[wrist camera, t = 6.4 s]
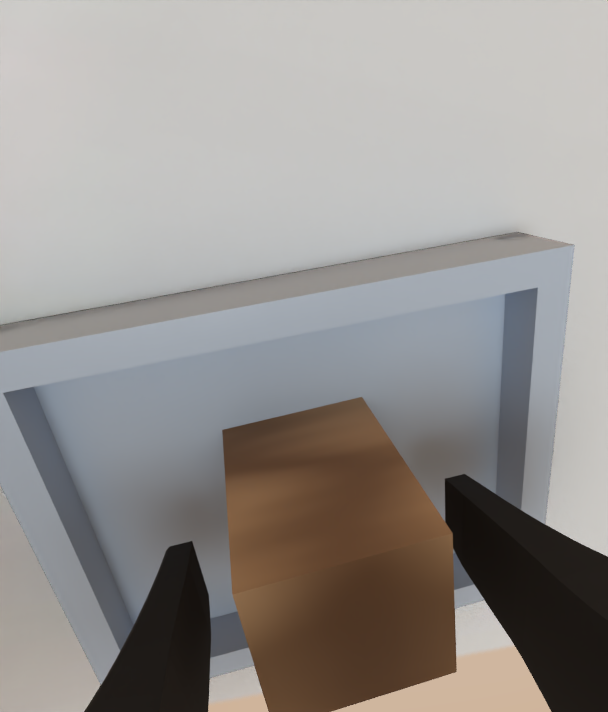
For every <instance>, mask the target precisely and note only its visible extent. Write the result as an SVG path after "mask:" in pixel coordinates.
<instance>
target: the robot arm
mask: <svg viewBox="0 0 608 712" xmlns="http://www.w3.org/2000/svg"><path fill="white" fill-rule="evenodd" d="M445 523H446V524H447V526H448V527H449V529H450V530H451V532H452V533H453V549H454V551H455V553H456V555H457V557H458V559H459V561H460V563H461V565H462V566H463V568H464V569H465V571H466V573H467V574H468V576H469V577H470V579H471V580H472V582H473V583H474V585H475V586H476V588H477V589H478V591H479V592H480V594H481V595H482V597H483V598H484V600H485V601H486V603H487V604H488V606H489V607H490V609H491V610H492V612H493V613H494V615H495V616H496V618H497V619H498V621H499V622H500V624H501V625H502V627H503V628H504V630H505V631H506V633H507V634H508V636H509V637H510V639H511V640H512V642H513V643H514V645H515V647H516V648H517V650H518V651H519V653H520V655H521V656H522V658H523V660H524V662H525V663H526V665H527V667H528V669H529V671H530V673H531V674H532V676H533V678H534V680H535V682H536V683H537V685H538V687H539V689H540V691H541V692H542V694H543V696H544V698H545V700H546V702H547V704H548V706H549V708H550V709H551V711H552V712H608V557H607V556H605V555H603V554H601V553H599V552H596V551H594V550H592V549H590V548H588V547H586V546H584V545H582V544H580V543H578V542H576V541H574V540H572V539H570V538H569V537H567V536H565V535H563V534H561V533H559V532H558V531H556V530H554V529H552V528H550V527H549V526H547V525H545V524H543V523H542V522H540V521H538V520H537V519H535V518H533V517H532V516H530V515H528V514H527V513H525V512H523V511H522V510H520V509H518V508H517V507H515V506H514V505H512V504H510V503H509V502H507V501H506V500H504V499H503V498H501V497H500V496H498V495H496V494H495V493H493V492H492V491H490V490H489V489H487V488H486V487H484V486H483V485H481V484H480V483H478V482H477V481H475V480H474V479H472V478H470V477H469V476H467V475H466V474H462V475H458V476H454V477H450V478H446V479H445ZM210 655H211V620H210V605H209V594H208V590H207V587H206V584H205V581H204V577H203V574H202V571H201V568H200V565H199V561H198V558H197V555H196V552H195V548H194V545H193V542H192V541H190V542H186V543H182V544H178V545H174V546H169V548H168V549H167V550H166V552H165V555H164V558H163V560H162V563H161V565H160V568H159V570H158V573H157V575H156V578H155V580H154V582H153V585H152V587H151V589H150V592H149V594H148V596H147V598H146V601H145V603H144V605H143V607H142V609H141V611H140V613H139V615H138V618H137V620H136V622H135V624H134V626H133V628H132V630H131V632H130V634H129V636H128V637H127V639H126V641H125V643H124V645H123V647H122V649H121V651H120V653H119V654H118V656H117V658H116V660H115V662H114V664H113V665H112V667H111V669H110V671H109V672H108V674H107V676H106V677H105V679H104V681H103V683H102V684H101V686H100V687H99V689H98V691H97V692H96V694H95V696H94V697H93V699H92V700H91V702H90V704H89V705H88V707H87V708H86V710H85V711H84V712H208V701H209V679H210Z"/></svg>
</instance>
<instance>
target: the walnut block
mask: <svg viewBox="0 0 608 712" xmlns="http://www.w3.org/2000/svg"><path fill="white" fill-rule="evenodd" d="M222 435H223V451H224V468H225V484H226V500H227V516H228V532H229V549H230V565H231V581H232V595H233V598H234V602H235V605H236V608H237V611H238V614H239V618H240V621H241V624H242V627H243V630H244V634H245V637H246V640H247V643H248V646H249V650H250V653H251V656H252V659H253V663H254V666H255V669H256V672H257V675H258V679H259V682H260V685H261V688H262V691H263V695H264V698H265V701H266V704H267V707H268V711H269V712H331V711H334V710H337V709H340V708H343V707H347V706H350V705H353V704H356V703H359V702H363V701H366V700H369V699H372V698H375V697H378V696H381V695H385V694H388V693H391V692H394V691H397V690H401V689H404V688H407V687H410V686H413V685H416V684H420V683H423V682H426V681H429V680H432V679H435V678H439V677H442V676H445V675H448V674H451V673H454V672H456V638H455V602H454V566H453V533H452V532H451V530H450V529H449V527H448V526H447V524H446V523H445V521H444V520H443V518H442V517H441V515H440V514H439V512H438V511H437V509H436V508H435V506H434V505H433V503H432V502H431V500H430V499H429V497H428V496H427V494H426V493H425V491H424V490H423V488H422V486H421V485H420V483H419V482H418V480H417V479H416V477H415V476H414V474H413V473H412V471H411V470H410V468H409V467H408V465H407V464H406V462H405V461H404V459H403V458H402V456H401V455H400V453H399V452H398V450H397V449H396V447H395V446H394V444H393V443H392V441H391V440H390V438H389V437H388V435H387V434H386V432H385V431H384V429H383V428H382V426H381V425H380V423H379V422H378V420H377V419H376V417H375V416H374V414H373V413H372V411H371V410H370V408H369V407H368V405H367V404H366V402H365V401H364V399H363V398H362V397H359V398H355V399H351V400H346V401H342V402H338V403H334V404H330V405H325V406H321V407H317V408H313V409H308V410H304V411H300V412H296V413H292V414H287V415H283V416H279V417H275V418H270V419H266V420H262V421H258V422H253V423H249V424H245V425H241V426H237V427H232V428H228V429H224V430H222Z"/></svg>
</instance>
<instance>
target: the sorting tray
mask: <svg viewBox="0 0 608 712" xmlns="http://www.w3.org/2000/svg"><path fill="white" fill-rule="evenodd" d="M574 246H575V245H573V244H568V243H564V242H559V241H555V240H550V239H546V238H542V237H537V236H533V235H528V234H524V233H519V232H516V233H511V234H505V235H500V236H494V237H489V238H483V239H477V240H472V241H466V242H461V243H455V244H450V245H444V246H438V247H433V248H427V249H422V250H416V251H411V252H405V253H400V254H394V255H388V256H383V257H377V258H372V259H366V260H361V261H355V262H349V263H344V264H338V265H333V266H327V267H322V268H316V269H311V270H305V271H299V272H294V273H288V274H283V275H277V276H272V277H266V278H260V279H255V280H249V281H244V282H238V283H233V284H227V285H222V286H216V287H210V288H205V289H199V290H194V291H188V292H183V293H177V294H171V295H166V296H160V297H155V298H149V299H144V300H138V301H132V302H127V303H121V304H116V305H110V306H105V307H99V308H94V309H88V310H82V311H77V312H71V313H66V314H60V315H55V316H49V317H43V318H38V319H32V320H27V321H21V322H16V323H10V324H5V325H0V486H1V488H2V490H3V492H4V494H5V496H6V498H7V500H8V501H9V503H10V505H11V507H12V509H13V511H14V513H15V515H16V517H17V519H18V521H19V523H20V525H21V527H22V529H23V531H24V533H25V535H26V537H27V539H28V541H29V543H30V545H31V547H32V549H33V551H34V553H35V555H36V557H37V559H38V561H39V563H40V565H41V567H42V569H43V571H44V573H45V575H46V577H47V579H48V581H49V583H50V585H51V587H52V589H53V591H54V593H55V595H56V597H57V599H58V601H59V603H60V605H61V607H62V609H63V611H64V613H65V615H66V617H67V619H68V621H69V623H70V625H71V627H72V629H73V631H74V633H75V635H76V637H77V639H78V641H79V643H80V645H81V647H82V649H83V650H84V652H85V654H86V656H87V658H88V660H89V662H90V664H91V666H92V668H93V670H94V672H95V674H96V676H97V678H98V680H99V682H100V684H102V683H103V681H104V679H105V677H106V676H107V674H108V672H109V671H110V669H111V667H112V665H113V664H114V662H115V660H116V658H117V656H118V654H119V653H120V651H121V649H122V647H123V645H124V643H125V641H126V639H127V637H128V636H129V634H130V632H131V630H132V628H133V626H134V624H135V622H136V620H137V618H138V615H139V613H140V611H141V609H142V607H143V605H144V603H145V601H146V598H147V596H148V594H149V592H150V589H151V587H152V585H153V582H154V580H155V578H156V575H157V573H158V570H159V568H160V565H161V563H162V560H163V558H164V555H165V552H166V550H167V549H168V548H169V546H174V545H178V544H182V543H186V542H190V541H192V542H193V545H194V548H195V552H196V555H197V558H198V561H199V565H200V568H201V571H202V574H203V577H204V581H205V584H206V587H207V590H208V594H209V605H210V620H211V655H210V678H212V677H216V676H219V675H223V674H226V673H230V672H233V671H237V670H240V669H244V668H247V667H251V666H254V663H253V659H252V656H251V653H250V650H249V646H248V643H247V640H246V637H245V634H244V630H243V627H242V624H241V621H240V618H239V614H238V611H237V608H236V605H235V602H234V598H233V595H232V581H231V565H230V549H229V532H228V516H227V500H226V484H225V468H224V451H223V435H222V430H224V429H228V428H232V427H237V426H241V425H245V424H249V423H253V422H258V421H262V420H266V419H270V418H275V417H279V416H283V415H287V414H292V413H296V412H300V411H304V410H308V409H313V408H317V407H321V406H325V405H330V404H334V403H338V402H342V401H346V400H351V399H355V398H359V397H362V398H363V399H364V401H365V402H366V404H367V405H368V407H369V408H370V410H371V411H372V413H373V414H374V416H375V417H376V419H377V420H378V422H379V423H380V425H381V426H382V428H383V429H384V431H385V432H386V434H387V435H388V437H389V438H390V440H391V441H392V443H393V444H394V446H395V447H396V449H397V450H398V452H399V453H400V455H401V456H402V458H403V459H404V461H405V462H406V464H407V465H408V467H409V468H410V470H411V471H412V473H413V474H414V476H415V477H416V479H417V480H418V482H419V483H420V485H421V486H422V488H423V490H424V491H425V493H426V494H427V496H428V497H429V499H430V500H431V502H432V503H433V505H434V506H435V508H436V509H437V511H438V512H439V514H440V515H441V517H442V518H443V520H444V521H445V479H446V478H450V477H454V476H458V475H462V474H466V475H467V476H469V477H470V478H472V479H474V480H475V481H477V482H478V483H480V484H481V485H483V486H484V487H486V488H487V489H489V490H490V491H492V492H493V493H495V494H496V495H498V496H500V497H501V498H503V499H504V500H506V501H507V502H509V503H510V504H512V505H514V506H515V507H517V508H518V509H520V510H522V511H523V512H525V513H527V514H528V515H530V516H532V517H533V518H535V519H537V520H538V521H540V522H542V523H543V524H545V522H546V513H547V503H548V494H549V484H550V475H551V465H552V455H553V446H554V436H555V427H556V417H557V408H558V398H559V389H560V379H561V370H562V360H563V351H564V341H565V331H566V322H567V312H568V303H569V293H570V284H571V274H572V265H573V255H574ZM453 566H454V602H455V608H459V607H462V606H466V605H469V604H473V603H476V602H480V601H483V600H484V598H483V597H482V595H481V594H480V592H479V591H478V589H477V588H476V586H475V585H474V583H473V582H472V580H471V579H470V577H469V576H468V574H467V573H466V571H465V569H464V568H463V566H462V565H461V563H460V561H459V559H458V557H457V555H456V553H455V551H454V549H453Z"/></svg>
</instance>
